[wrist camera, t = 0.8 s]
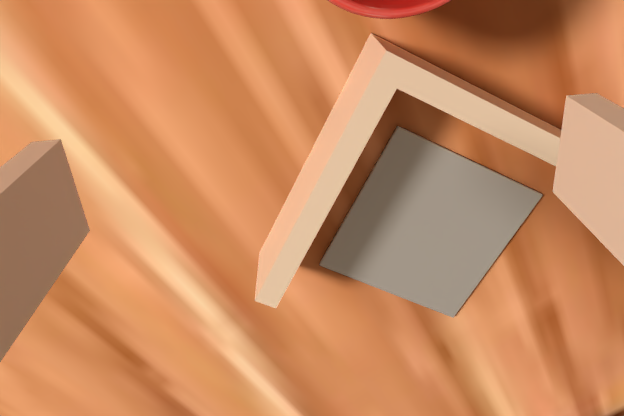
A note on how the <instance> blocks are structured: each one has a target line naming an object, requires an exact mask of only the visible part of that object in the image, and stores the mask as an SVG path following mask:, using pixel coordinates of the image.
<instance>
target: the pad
mask: <svg viewBox="0 0 624 416" xmlns="http://www.w3.org/2000/svg"><path fill="white" fill-rule="evenodd" d="M542 196H543V195H542V194H541V193H539V192H537V191H535V190H533V189H531V188H529V187H527V186H525V185H523V184H520V183H518V182H516V181H514V180H512V179H510V178H508V177H506V176H503V175H501V174H499V173H497V172H495V171H493V170H491V169H489V168H486V167H484V166H482V165H480V164H478V163H476V162H474V161H472V160H470V159H467V158H465V157H463V156H461V155H459V154H457V153H455V152H453V151H450V150H448V149H446V148H444V147H442V146H440V145H438V144H436V143H434V142H431V141H429V140H427V139H425V138H423V137H421V136H419V135H417V134H414V133H412V132H410V131H408V130H406V129H404V128H402V127H400V126H397V127H396V129H395V131H394V133H393V134H392V136H391V138H390V140H389V142H388V143H387V145H386V147H385V149H384V150H383V152H382V154H381V156H380V157H379V159H378V161H377V163H376V164H375V166H374V168H373V170H372V171H371V173H370V175H369V177H368V179H367V180H366V182H365V184H364V186H363V187H362V189H361V191H360V193H359V194H358V196H357V198H356V200H355V201H354V203H353V205H352V207H351V208H350V210H349V212H348V214H347V216H346V217H345V219H344V221H343V223H342V224H341V226H340V228H339V230H338V231H337V233H336V235H335V237H334V238H333V240H332V242H331V244H330V245H329V247H328V249H327V251H326V253H325V254H324V256H323V258H322V260H321V261H320V263H319V265H320V266H322V267H325V268H327V269H330V270H332V271H335V272H338V273H340V274H343V275H345V276H348V277H350V278H353V279H355V280H358V281H361V282H363V283H366V284H368V285H371V286H373V287H376V288H379V289H381V290H384V291H386V292H389V293H391V294H394V295H396V296H399V297H402V298H404V299H407V300H409V301H412V302H414V303H417V304H420V305H422V306H425V307H427V308H430V309H432V310H435V311H437V312H440V313H443V314H445V315H448V316H450V317H454V316H455V315H456V313H457V312H458V311H459V309H460V308H461V306H462V305H463V304H464V302H465V301H466V300H467V298H468V297H469V295H470V294H471V293H472V291H473V290H474V289H475V287H476V286H477V285H478V283H479V282H480V280H481V279H482V278H483V276H484V275H485V274H486V272H487V271H488V270H489V268H490V267H491V265H492V264H493V263H494V261H495V260H496V259H497V257H498V256H499V254H500V253H501V252H502V250H503V249H504V248H505V246H506V245H507V244H508V242H509V241H510V239H511V238H512V237H513V235H514V234H515V233H516V231H517V230H518V228H519V227H520V226H521V224H522V223H523V222H524V220H525V219H526V218H527V216H528V215H529V213H530V212H531V211H532V209H533V208H534V207H535V205H536V204H537V202H538V201H539V200H540V198H541V197H542Z"/></svg>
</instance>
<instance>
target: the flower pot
mask: <svg viewBox="0 0 624 416" xmlns="http://www.w3.org/2000/svg"><path fill="white" fill-rule="evenodd" d="M328 1H329V2H331V3H332V4H334V5H336V6H338V7H339V8H342V9H344V10H346V11H349V12H351V13H354V14H357V15H361V16H365V17H371V18H380V19H395V18H404V17H409V16H414V15H418V14H422V13H425V12H428V11H430V10H433V9H435V8H438V7H440V6H442V5H444V4H446V3H448V2H450V1H451V0H328Z"/></svg>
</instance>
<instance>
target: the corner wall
mask: <svg viewBox="0 0 624 416" xmlns="http://www.w3.org/2000/svg"><path fill="white" fill-rule="evenodd" d="M396 89H399V90H401V91H403V92H405V93H407V94H409V95H411V96H413V97H415V98H417V99H419V100H421V101H423V102H425V103H428V104H430V105H432V106H434V107H436V108H438V109H440V110H442V111H444V112H446V113H448V114H450V115H452V116H454V117H456V118H458V119H460V120H462V121H464V122H466V123H468V124H470V125H472V126H474V127H477V128H479V129H481V130H483V131H485V132H487V133H489V134H491V135H493V136H495V137H497V138H499V139H501V140H503V141H505V142H507V143H509V144H511V145H513V146H515V147H517V148H519V149H521V150H524V151H526V152H528V153H530V154H532V155H534V156H536V157H538V158H540V159H542V160H544V161H546V162H548V163H550V164H552V165H554V166H556V164H557V158H558V151H559V144H560V137H561V129H559V128H557V127H555V126H553V125H551V124H549V123H547V122H545V121H543V120H541V119H539V118H537V117H535V116H533V115H531V114H529V113H527V112H525V111H523V110H521V109H519V108H517V107H515V106H513V105H511V104H510V103H508V102H506V101H504V100H502V99H500V98H498V97H496V96H494V95H492V94H490V93H488V92H486V91H484V90H482V89H480V88H478V87H476V86H474V85H472V84H470V83H468V82H466V81H464V80H462V79H460V78H459V77H457V76H455V75H453V74H451V73H449V72H447V71H445V70H443V69H441V68H439V67H437V66H435V65H433V64H431V63H429V62H427V61H425V60H423V59H421V58H419V57H417V56H415V55H413V54H411V53H409V52H408V51H406V50H404V49H402V48H400V47H398V46H396V45H394V44H392V43H390V42H388V41H386V40H384V39H382V38H380V37H378V36H376V35H374V34H372V33H370V35H369V37H368V39H367V41H366V43H365V45H364V47H363V49H362V51H361V53H360V55H359V57H358V59H357V61H356V63H355V65H354V67H353V69H352V71H351V73H350V75H349V77H348V79H347V81H346V83H345V85H344V87H343V89H342V91H341V93H340V95H339V97H338V99H337V101H336V103H335V105H334V107H333V109H332V111H331V112H330V114H329V116H328V118H327V120H326V122H325V124H324V126H323V128H322V130H321V132H320V134H319V136H318V138H317V140H316V142H315V144H314V146H313V148H312V150H311V152H310V154H309V156H308V158H307V160H306V162H305V164H304V166H303V168H302V170H301V172H300V174H299V176H298V178H297V180H296V182H295V184H294V186H293V188H292V189H291V191H290V193H289V195H288V197H287V199H286V201H285V203H284V205H283V207H282V209H281V211H280V213H279V215H278V217H277V219H276V221H275V223H274V225H273V227H272V229H271V231H270V233H269V235H268V237H267V239H266V241H265V243H264V245H263V247H262V249H261V251H260V253H259V263H258V273H257V283H256V293H255V301H257V302H259V303H262V304H265V305H268V306H271V307H273V308H276V307H277V305H278V304H279V302H280V300H281V298H282V296H283V295H284V293H285V291H286V289H287V287H288V286H289V284H290V282H291V280H292V278H293V276H294V275H295V273H296V271H297V269H298V267H299V266H300V264H301V262H302V260H303V258H304V256H305V255H306V253H307V251H308V249H309V247H310V246H311V244H312V242H313V240H314V238H315V236H316V235H317V233H318V231H319V229H320V227H321V226H322V224H323V222H324V220H325V218H326V216H327V215H328V213H329V211H330V209H331V207H332V206H333V204H334V202H335V200H336V198H337V196H338V195H339V193H340V191H341V189H342V187H343V186H344V184H345V182H346V180H347V178H348V176H349V175H350V173H351V171H352V169H353V167H354V166H355V164H356V162H357V160H358V158H359V156H360V155H361V153H362V151H363V149H364V147H365V146H366V144H367V142H368V140H369V138H370V136H371V135H372V133H373V131H374V129H375V127H376V126H377V124H378V122H379V120H380V118H381V116H382V115H383V113H384V111H385V109H386V107H387V106H388V104H389V102H390V100H391V98H392V96H393V95H394V93H395V91H396Z"/></svg>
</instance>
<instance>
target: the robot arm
mask: <svg viewBox="0 0 624 416" xmlns="http://www.w3.org/2000/svg"><path fill="white" fill-rule="evenodd" d="M553 193H554V194H555V195H556V196H557V197H558V198H559V199H560V200H561V201H562V202H563V203H564V204H565V205H566V206H567V207H568V208H569V209H570V210H571V212H572V213H573V214H574V215H575V216H576V217H577V218H578V219H579V220H580V221H581V222H582V223H583V224H584V225H585V226H586V227H587V228H588V229H589V230H590V231H591V232H592V233H593V234H594V235H595V236H596V237H597V239H598V240H599V241H600V242H601V243H602V244H603V245H604V246H605V247H606V248H607V249H608V250H609V251H610V252H611V253H612V254H613V255H614V256H615V257H616V258H617V259H618V260H619V261H620V262H621V263H622V264H623V265H624V108H622V107H620V106H619V105H617V104H615V103H613V102H611V101H610V100H608V99H606V98H604V97H602V96H601V95H599V94H597V93H592V94H581V95H569V96H566V102H565V109H564V116H563V123H562V130H561V137H560V144H559V151H558V158H557V164H556V171H555V178H554V185H553ZM89 231H90V230H89V226H88V223H87V220H86V217H85V214H84V211H83V208H82V205H81V201H80V198H79V195H78V192H77V189H76V186H75V183H74V179H73V176H72V173H71V170H70V167H69V164H68V161H67V158H66V154H65V151H64V148H63V145H62V142H61V139H60V140H48V141H37V142H31V143H30V144H29V145H27V146H26V147H25V148H24V149H22V150H21V151H20V152H19V153H17V154H16V155H15V156H14V157H13V158H11V159H10V160H9V161H8V162H6V163H5V164H4V165H3V166H1V167H0V362H1V360H2V359H3V357H4V356H5V354H6V353H7V351H8V350H9V349H10V347H11V346H12V344H13V343H14V341H15V340H16V338H17V337H18V335H19V334H20V332H21V331H22V329H23V328H24V326H25V325H26V324H27V322H28V321H29V319H30V318H31V316H32V315H33V313H34V312H35V310H36V309H37V307H38V306H39V304H40V303H41V302H42V300H43V299H44V297H45V296H46V294H47V293H48V291H49V290H50V288H51V287H52V285H53V284H54V282H55V281H56V279H57V278H58V277H59V275H60V274H61V272H62V271H63V269H64V268H65V266H66V265H67V263H68V262H69V260H70V259H71V257H72V256H73V254H74V253H75V252H76V250H77V249H78V247H79V246H80V244H81V243H82V241H83V240H84V238H85V237H86V235H87V234H88V232H89Z"/></svg>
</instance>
